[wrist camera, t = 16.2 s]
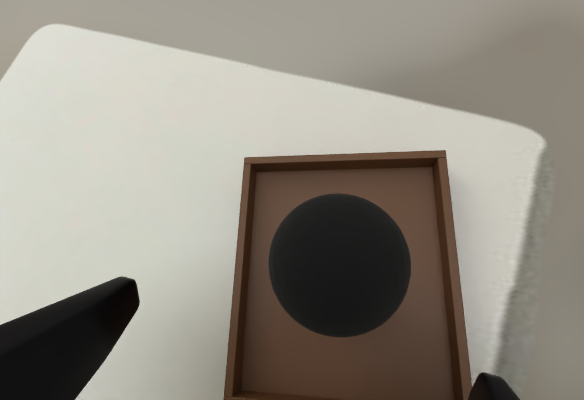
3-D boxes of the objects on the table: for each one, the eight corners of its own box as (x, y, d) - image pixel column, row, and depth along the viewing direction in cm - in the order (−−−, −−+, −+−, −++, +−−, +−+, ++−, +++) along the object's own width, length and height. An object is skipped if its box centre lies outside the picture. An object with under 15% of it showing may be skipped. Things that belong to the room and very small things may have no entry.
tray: (463, 417, 18) (477, 430, 16) (234, 396, 20) (222, 406, 18) (437, 163, 22) (445, 150, 20) (252, 168, 24) (244, 157, 22)
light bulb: (408, 267, 20) (462, 236, 11) (351, 347, 19) (354, 390, 10) (331, 212, 22) (319, 143, 12) (276, 283, 21) (218, 267, 12)
